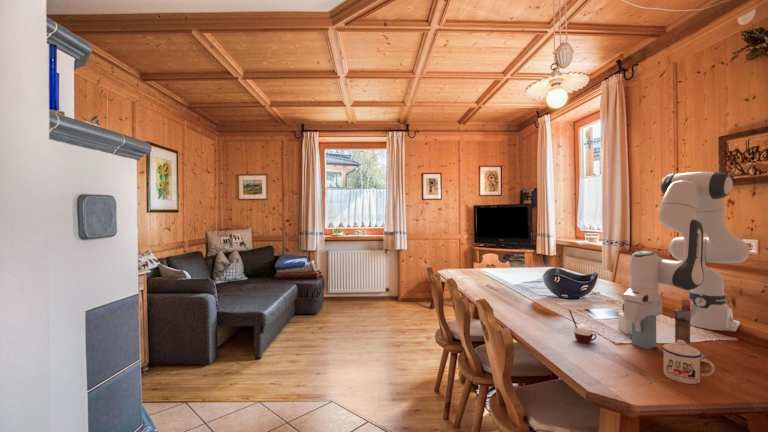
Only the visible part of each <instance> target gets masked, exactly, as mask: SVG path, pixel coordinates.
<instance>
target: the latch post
mask: <svg viewBox="0 0 768 432" xmlns="http://www.w3.org/2000/svg"><path fill="white" fill-rule="evenodd" d="M674 335H675V336H674V342H677V340H683V341H685V342H686V344H688V345H689V346H691V325H690V321H681V320H677V319H675V318H674ZM700 353H701V352H700ZM658 356H661V357H664V349H663V348H662V349H660V350H658ZM700 358H702V359H706V360H708V354H705V353H704V354H703V353H701V357H700ZM701 363H703V362H702V361H700V364H701Z"/></svg>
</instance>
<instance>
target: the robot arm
mask: <svg viewBox="0 0 768 432" xmlns="http://www.w3.org/2000/svg"><path fill="white" fill-rule="evenodd" d="M733 184H734V183H733V180H732V176H731V175H729V174H728V173H726V172H721V171H714V172H713V171H694V172H693V171H691V172H679V173H678V172H674V173H669V174H667V175H665V176H664V177H663V178H662V180H661V183H660V191H661V193H662V194H663V197H662V200H661V203H660V206H659V210H658V220H659V221H660V223H661V224H662V225H663V226H664V227H666V228H668V230H669V229H670V230H671V231H674V232H677V233H678V234H680V235H681V236H677V237H676V236H675V237H674V238H672V239H671V240H670V242H669V244H668V252H669V253H670V254H671V256H672V257H673V258H674V259H675V260H672V259H667V258H663V257H660V256H658V254H657V253H656V252H655V251H651V250H637V251H635V252H633V253H632V255H631V257H630V262H629V275H630V281H629V287H628V289H627V290H626V291H625V292H624V293H623V294H622V299H623V303H624V317H625V319H626V320H627V321H630V322H634V325H635V330H636V331H638V332H641V331H643V327H641V321H642V320H645V318H646V317H649V316H652V315H655V316H656V317H658V316H660V315H662V314H663V301H662V297H661V296H660V291H659V290H660V287H659V284H661V285H666V286H672V287H675V288H678V289H682V290H685V291H688V294H687V295H688V296H687V297H688V298H689V299H692V305H698V306H699V311H698V312H697V313H696V314H695V315H694V316H693V317H691V321H690V326H694V327H696V328H701V329H707V330H712V331H727V332H737V330H738V328H739V327H740V325H741V322H740V321H739V320H737V319H736V320H735V319H734V316H733V315H734V312H733V310H732V309H731V307H729V305H728V304H727V299H728V294H727V293H725V278H724V276H723V275H722V274H721V273H719V272H717V271H716V270H713V269H711V268H709V267H707V265H706V263H718V264H719V263H720V264H738V263H744V262H745V261H746V260H747V259H748V258H749V256H750V254H751V252H750V251H751V249H750V246H749V245H748V244H747V242H745V240H743V239H741V238H739V237H737V236H735V235H734V234H733V233H732V232H731V231H730V230H729V229H728V226H727V225H726V222H725V215H724V201H723V199H724V198H726V197H727V196H729V195H730V194H731V191H732V189H733V186H734V185H733ZM704 235H705V236H704Z"/></svg>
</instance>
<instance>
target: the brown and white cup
mask: <svg viewBox="0 0 768 432" xmlns="http://www.w3.org/2000/svg"><path fill="white" fill-rule="evenodd" d="M568 312H569V314H570V317H571V319H572V321H573V324H574V329H573V330H574V332H573V333H574V337H575V339H576V341H577V342H579V343H582V344H589V343H591V342H593V341H595V340H596V338H597V337H598V336H597V335H596V333H593V330H592V329H591V328H590V327H589V326H588V325H586V324H584V323H577V324H576V320H575V318H574V316H573V313H572V311H571V309H568ZM593 336H595V337H594V338H593Z"/></svg>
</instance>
